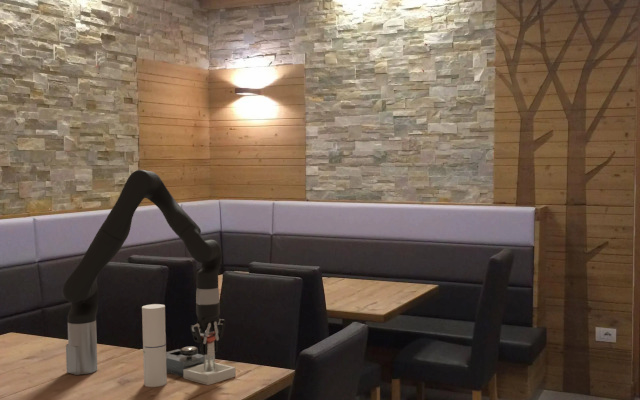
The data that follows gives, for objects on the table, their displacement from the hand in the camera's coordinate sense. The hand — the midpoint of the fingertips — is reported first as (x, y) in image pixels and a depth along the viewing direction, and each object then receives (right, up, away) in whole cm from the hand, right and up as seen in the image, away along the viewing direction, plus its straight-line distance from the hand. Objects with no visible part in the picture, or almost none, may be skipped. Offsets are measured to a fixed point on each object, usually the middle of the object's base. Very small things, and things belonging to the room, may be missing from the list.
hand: (208, 352), depth 242 cm
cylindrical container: (-16, -9, -5) cm, 19 cm away
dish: (0, -8, 0) cm, 8 cm away
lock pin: (0, -6, 0) cm, 6 cm away
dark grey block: (-11, -8, +10) cm, 17 cm away
